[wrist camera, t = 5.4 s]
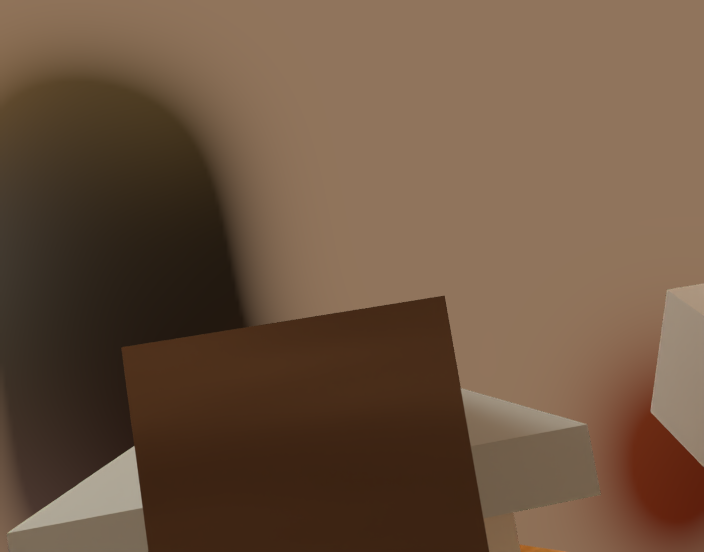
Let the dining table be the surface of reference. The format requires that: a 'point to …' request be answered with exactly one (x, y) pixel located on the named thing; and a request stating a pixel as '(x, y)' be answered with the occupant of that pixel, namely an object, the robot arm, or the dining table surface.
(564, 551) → the dining table surface
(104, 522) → the stand
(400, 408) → the walnut block
